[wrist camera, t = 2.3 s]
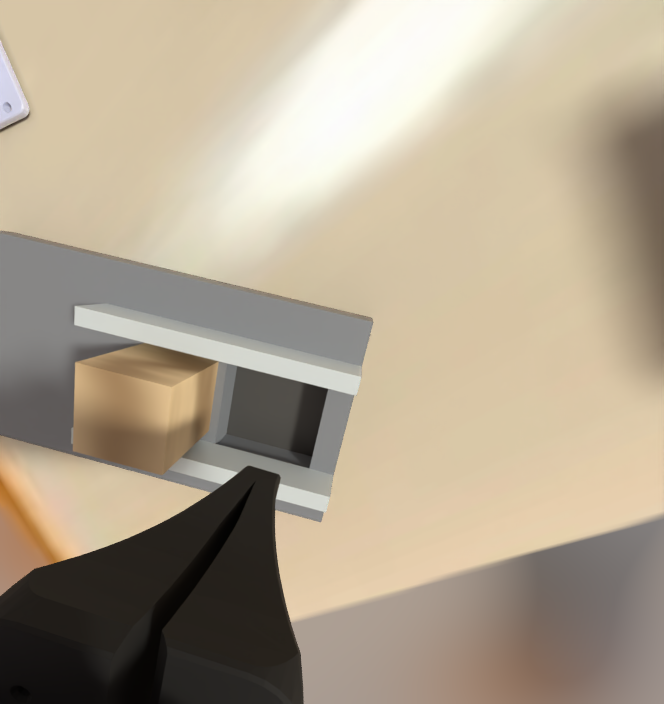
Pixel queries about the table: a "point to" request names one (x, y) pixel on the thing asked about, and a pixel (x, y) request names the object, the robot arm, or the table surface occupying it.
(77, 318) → the rail jig base
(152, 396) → the block
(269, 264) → the table surface
